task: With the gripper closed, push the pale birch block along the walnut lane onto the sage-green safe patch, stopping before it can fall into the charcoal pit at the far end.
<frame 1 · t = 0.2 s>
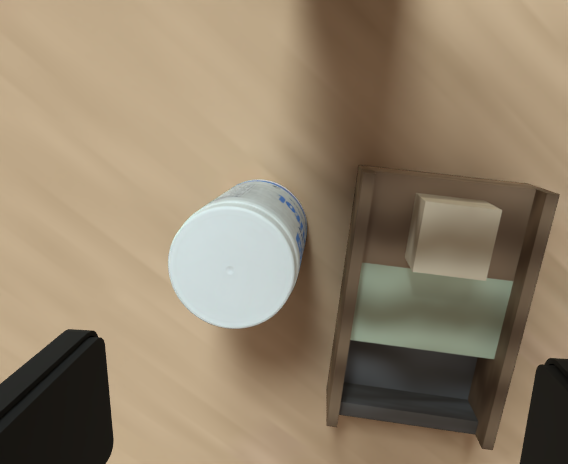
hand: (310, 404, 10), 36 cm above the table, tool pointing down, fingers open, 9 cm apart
lane deck: (419, 295, 46), on the table
birch block: (443, 229, 41), point 4 cm above the table, touching lane deck
supplement tub: (260, 223, 46), on the table
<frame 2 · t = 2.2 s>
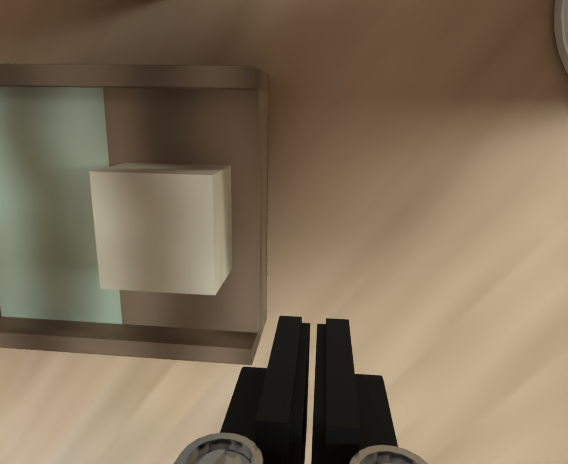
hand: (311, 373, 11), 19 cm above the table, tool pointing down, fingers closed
lane deck: (83, 198, 31), on the table
birch block: (180, 216, 26), point 4 cm above the table, touching lane deck
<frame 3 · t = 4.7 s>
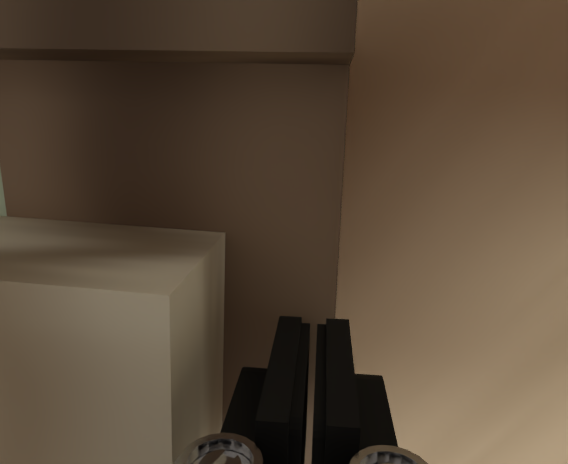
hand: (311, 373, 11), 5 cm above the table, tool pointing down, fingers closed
birch block: (113, 332, 12), point 4 cm above the table, touching lane deck
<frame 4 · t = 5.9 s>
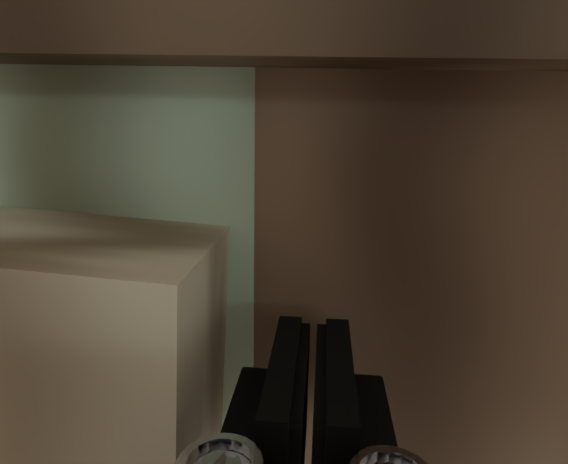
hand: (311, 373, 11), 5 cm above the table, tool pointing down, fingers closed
lane deck: (159, 287, 16), on the table
birch block: (114, 325, 12), point 4 cm above the table, touching gripper
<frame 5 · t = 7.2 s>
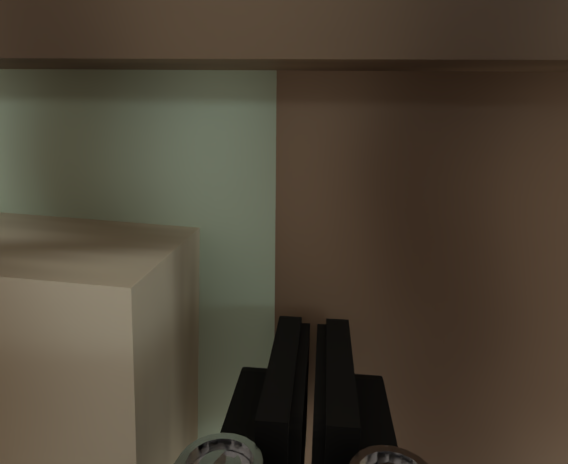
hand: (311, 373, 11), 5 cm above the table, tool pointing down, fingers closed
lane deck: (173, 292, 16), on the table
birch block: (86, 329, 12), point 4 cm above the table, touching lane deck
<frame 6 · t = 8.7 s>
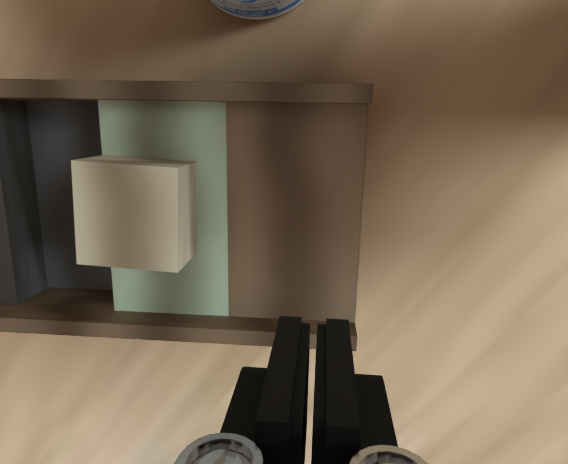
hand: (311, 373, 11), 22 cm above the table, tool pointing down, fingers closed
lane deck: (184, 202, 33), on the table
birch block: (151, 204, 29), point 4 cm above the table, touching lane deck
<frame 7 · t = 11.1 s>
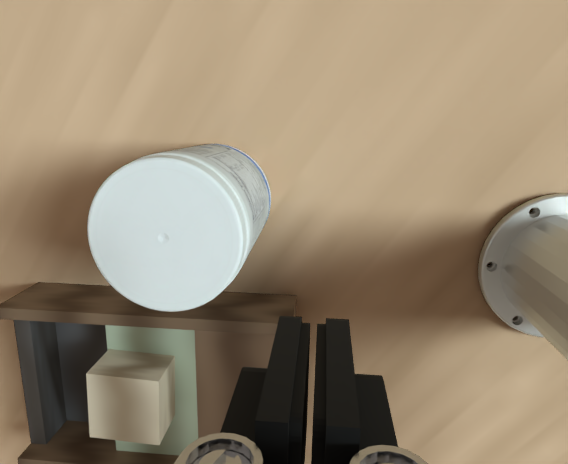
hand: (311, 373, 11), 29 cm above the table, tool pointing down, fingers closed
lane deck: (168, 364, 45), on the table
birch block: (142, 382, 41), point 4 cm above the table, touching lane deck
supplement tub: (220, 196, 40), on the table
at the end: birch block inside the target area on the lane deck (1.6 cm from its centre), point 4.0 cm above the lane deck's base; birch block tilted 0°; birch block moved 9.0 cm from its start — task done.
